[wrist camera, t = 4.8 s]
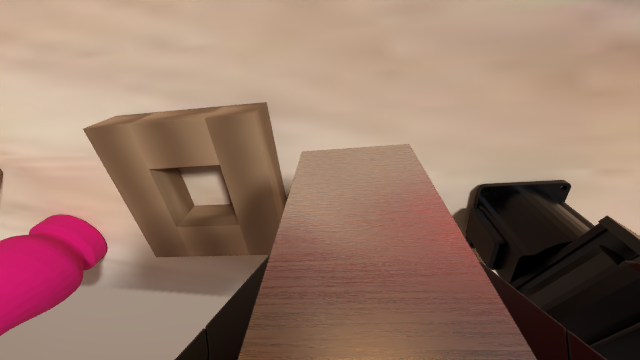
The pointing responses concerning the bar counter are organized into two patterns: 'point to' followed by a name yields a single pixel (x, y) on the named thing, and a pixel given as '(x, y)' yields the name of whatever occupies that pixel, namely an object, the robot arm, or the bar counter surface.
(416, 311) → the square bit
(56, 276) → the pepper mill
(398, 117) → the bar counter surface
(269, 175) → the bore block
